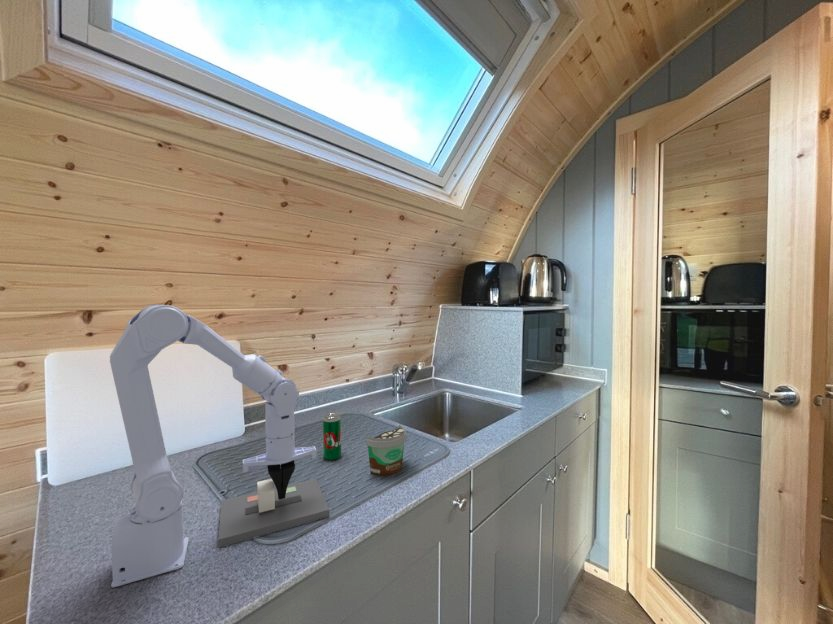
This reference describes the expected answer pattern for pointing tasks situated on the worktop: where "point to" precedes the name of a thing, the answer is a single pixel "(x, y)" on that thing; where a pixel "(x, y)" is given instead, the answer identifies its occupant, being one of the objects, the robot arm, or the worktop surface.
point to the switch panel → (270, 513)
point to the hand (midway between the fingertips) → (281, 496)
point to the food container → (386, 452)
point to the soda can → (331, 436)
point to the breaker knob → (266, 495)
